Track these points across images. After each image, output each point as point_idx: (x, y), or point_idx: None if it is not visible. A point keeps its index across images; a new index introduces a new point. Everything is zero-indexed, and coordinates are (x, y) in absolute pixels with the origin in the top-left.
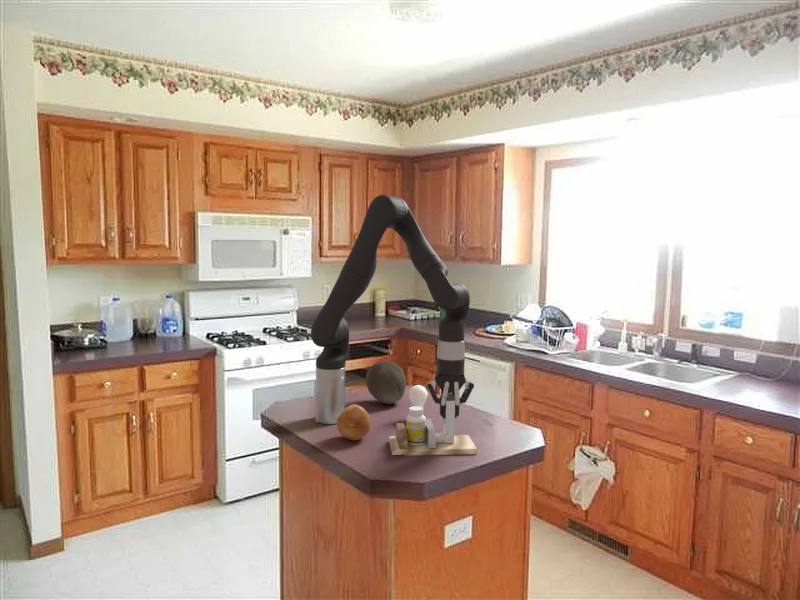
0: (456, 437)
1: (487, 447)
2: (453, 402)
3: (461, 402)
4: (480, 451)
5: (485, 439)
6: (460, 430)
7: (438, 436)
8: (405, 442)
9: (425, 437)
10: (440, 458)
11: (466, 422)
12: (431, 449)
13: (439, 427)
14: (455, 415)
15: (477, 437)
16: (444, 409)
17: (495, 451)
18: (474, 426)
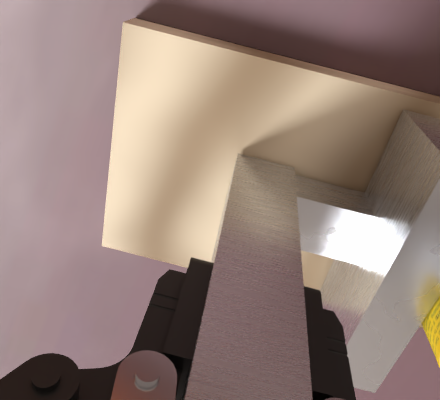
0: (179, 234)
1: (37, 103)
2: (210, 396)
3: (89, 379)
4: (97, 55)
5: (19, 210)
6: (107, 335)
7: (337, 206)
8: None
9: None
10: (403, 16)
11: None
12: (435, 104)
13: None
14: (200, 273)
15: (53, 244)
16: (316, 353)
17: (5, 26)
18: (30, 351)
